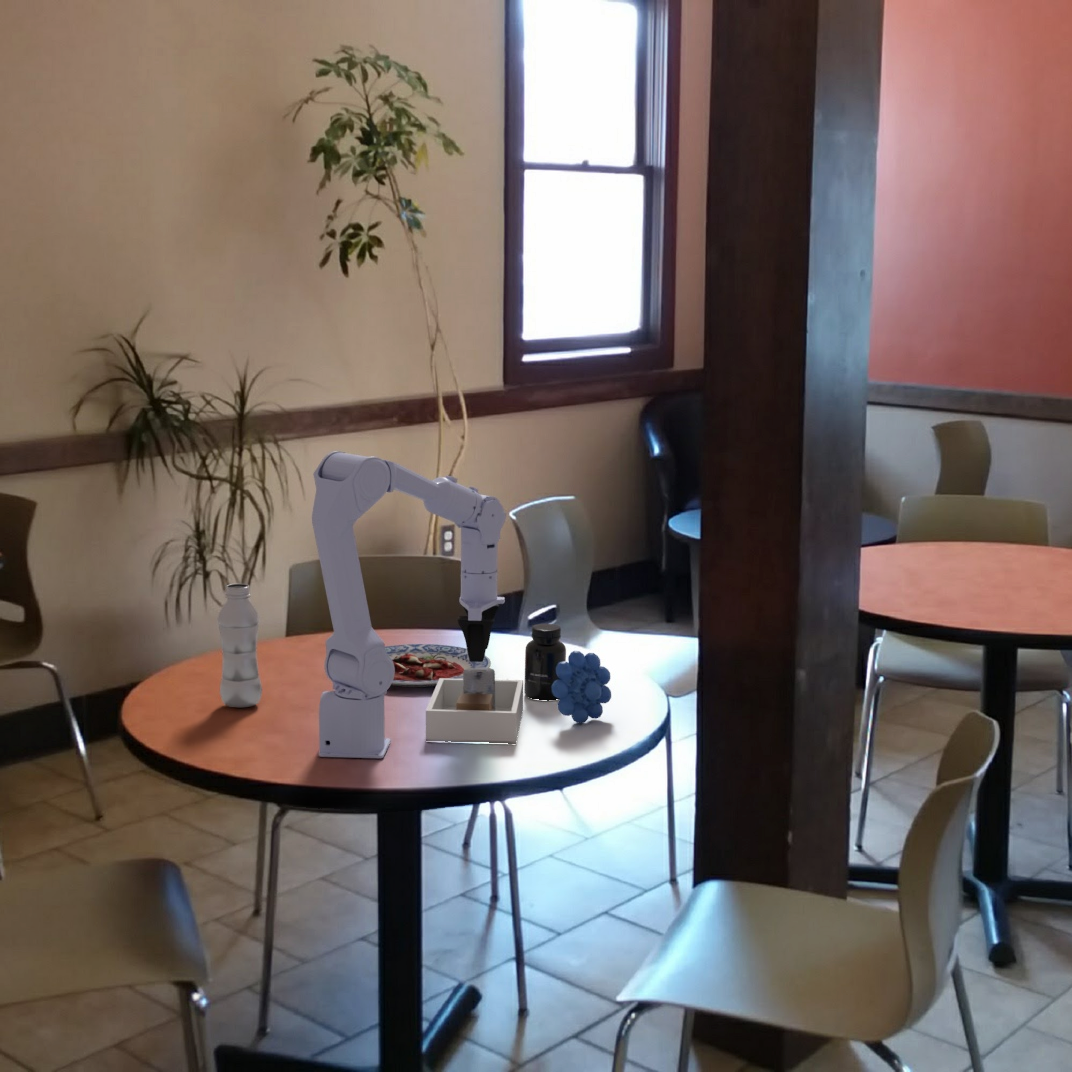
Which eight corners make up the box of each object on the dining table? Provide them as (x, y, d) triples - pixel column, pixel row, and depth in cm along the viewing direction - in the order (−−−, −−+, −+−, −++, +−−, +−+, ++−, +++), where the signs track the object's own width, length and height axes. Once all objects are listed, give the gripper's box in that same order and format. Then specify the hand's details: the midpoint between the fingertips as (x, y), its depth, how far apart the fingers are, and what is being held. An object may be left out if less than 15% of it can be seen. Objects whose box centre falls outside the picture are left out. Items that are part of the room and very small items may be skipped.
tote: (425, 742, 213) (425, 710, 212) (439, 707, 230) (439, 678, 229) (515, 745, 212) (516, 713, 211) (522, 710, 229) (523, 680, 228)
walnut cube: (456, 734, 215) (456, 703, 214) (460, 724, 219) (460, 693, 219) (489, 735, 214) (489, 704, 213) (492, 725, 219) (492, 694, 218)
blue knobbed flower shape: (569, 737, 216) (570, 661, 214) (542, 725, 221) (543, 651, 219) (627, 723, 223) (628, 650, 221) (599, 713, 228) (601, 641, 226)
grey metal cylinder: (462, 718, 222) (461, 675, 221) (465, 709, 227) (465, 667, 226) (493, 719, 222) (493, 675, 221) (496, 709, 227) (496, 667, 226)
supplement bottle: (530, 703, 233) (531, 632, 231) (519, 691, 240) (520, 622, 237) (570, 700, 235) (571, 630, 233) (558, 689, 241) (559, 620, 239)
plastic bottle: (253, 713, 226) (249, 591, 222) (213, 710, 227) (209, 589, 224) (268, 701, 232) (265, 582, 229) (229, 698, 233) (226, 580, 230)
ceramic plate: (433, 704, 233) (433, 686, 232) (314, 679, 246) (314, 663, 246) (518, 669, 254) (518, 653, 254) (404, 648, 268) (404, 633, 267)
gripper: (501, 580, 213) (500, 667, 216) (507, 561, 228) (507, 643, 230) (454, 579, 214) (454, 666, 216) (464, 560, 228) (464, 642, 230)
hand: (478, 654), depth 223 cm, fingers open, 7 cm apart
